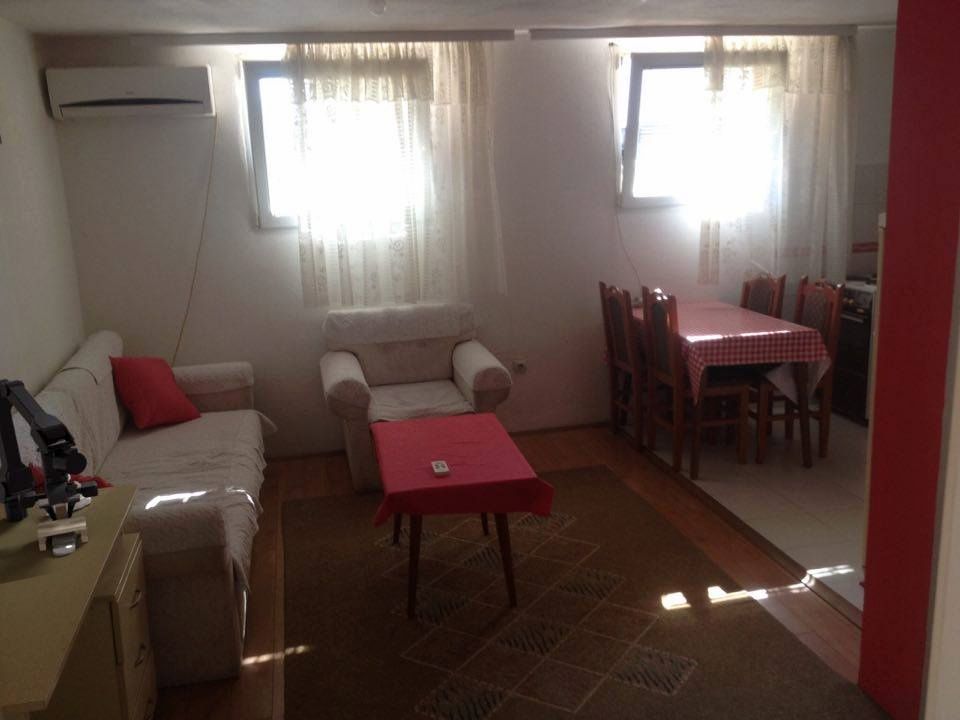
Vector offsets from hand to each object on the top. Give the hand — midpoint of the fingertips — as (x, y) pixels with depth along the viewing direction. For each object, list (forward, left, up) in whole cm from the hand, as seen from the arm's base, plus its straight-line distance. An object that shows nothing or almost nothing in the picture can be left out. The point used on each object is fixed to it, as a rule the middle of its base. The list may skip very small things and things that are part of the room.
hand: (63, 525), depth 222 cm
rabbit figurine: (-19, +1, -2) cm, 19 cm away
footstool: (+8, 0, -2) cm, 8 cm away
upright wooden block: (-1, 0, -2) cm, 2 cm away
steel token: (+15, 0, -2) cm, 16 cm away
